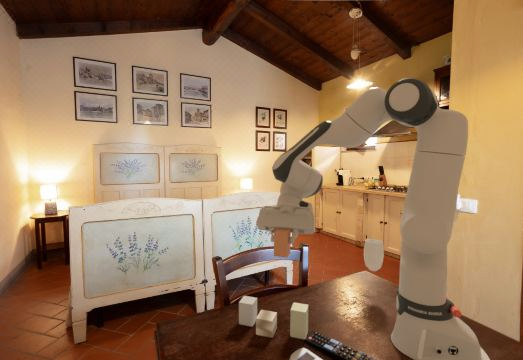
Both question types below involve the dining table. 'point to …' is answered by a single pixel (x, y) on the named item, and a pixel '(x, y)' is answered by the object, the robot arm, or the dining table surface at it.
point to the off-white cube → (266, 323)
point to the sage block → (299, 320)
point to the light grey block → (247, 311)
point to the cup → (373, 254)
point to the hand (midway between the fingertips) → (281, 242)
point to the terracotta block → (282, 242)
